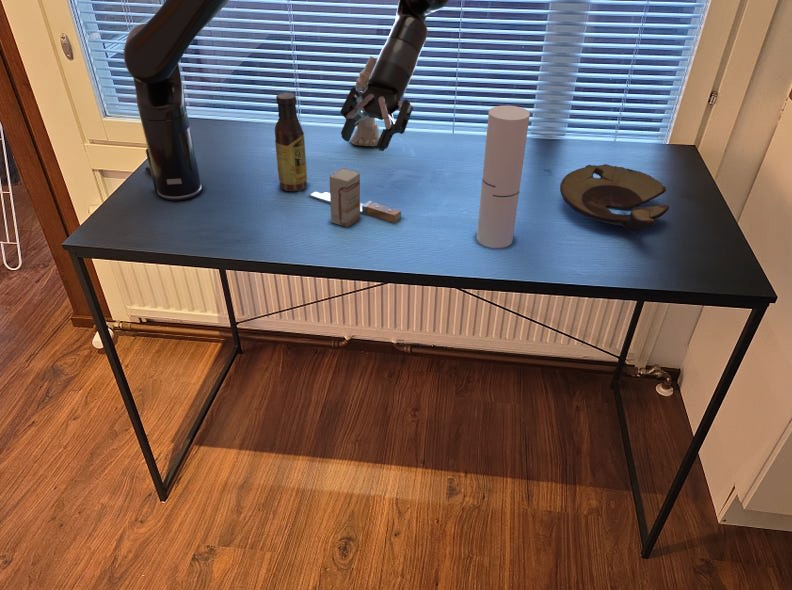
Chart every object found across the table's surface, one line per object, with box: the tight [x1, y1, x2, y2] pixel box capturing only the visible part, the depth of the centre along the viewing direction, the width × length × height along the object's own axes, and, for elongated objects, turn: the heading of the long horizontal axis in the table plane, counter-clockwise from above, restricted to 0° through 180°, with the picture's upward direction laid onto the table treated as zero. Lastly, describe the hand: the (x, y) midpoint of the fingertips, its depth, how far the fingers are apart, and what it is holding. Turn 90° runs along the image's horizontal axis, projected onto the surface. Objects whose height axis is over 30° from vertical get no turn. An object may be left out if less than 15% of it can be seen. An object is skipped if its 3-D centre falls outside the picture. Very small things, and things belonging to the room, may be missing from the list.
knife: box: [309, 191, 402, 224], centre depth 141 cm, size 22×3×2 cm, turn 57°
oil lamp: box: [559, 163, 670, 234], centre depth 137 cm, size 22×30×8 cm
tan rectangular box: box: [329, 167, 361, 228], centre depth 134 cm, size 5×4×10 cm
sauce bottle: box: [274, 92, 308, 192], centre depth 142 cm, size 7×6×20 cm
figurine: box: [350, 56, 381, 147], centre depth 162 cm, size 9×8×20 cm
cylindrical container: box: [476, 105, 531, 249], centre depth 124 cm, size 7×7×25 cm
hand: (362, 144), depth 132 cm, fingers open, 8 cm apart
